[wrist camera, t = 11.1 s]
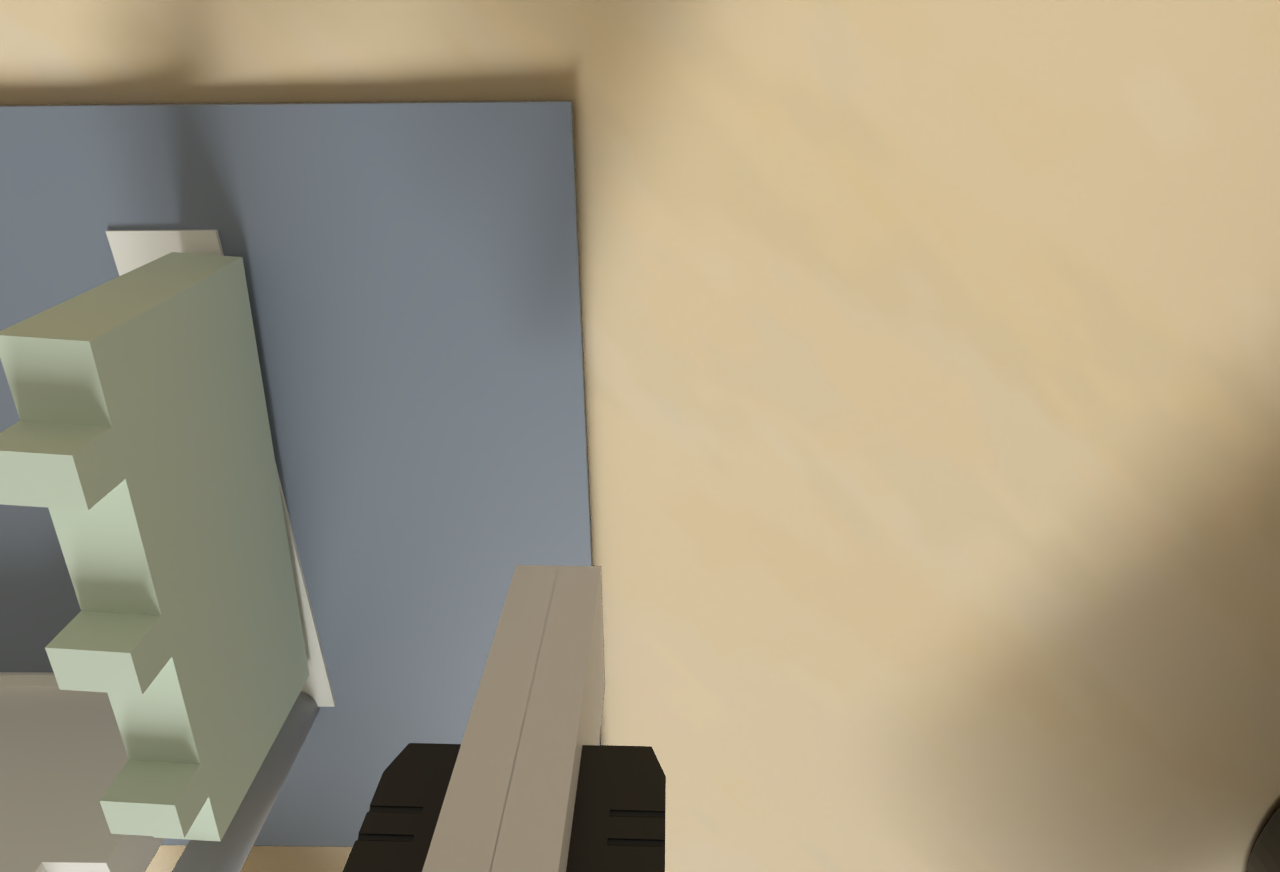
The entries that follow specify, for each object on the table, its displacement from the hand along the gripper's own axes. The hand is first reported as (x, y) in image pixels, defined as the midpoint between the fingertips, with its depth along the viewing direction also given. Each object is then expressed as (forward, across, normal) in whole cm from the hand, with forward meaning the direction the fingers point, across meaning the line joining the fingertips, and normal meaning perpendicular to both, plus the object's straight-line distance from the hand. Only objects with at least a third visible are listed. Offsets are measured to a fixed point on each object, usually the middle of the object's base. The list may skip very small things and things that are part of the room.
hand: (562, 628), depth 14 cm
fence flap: (+5, -9, 0) cm, 10 cm away
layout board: (+6, -13, -3) cm, 14 cm away
